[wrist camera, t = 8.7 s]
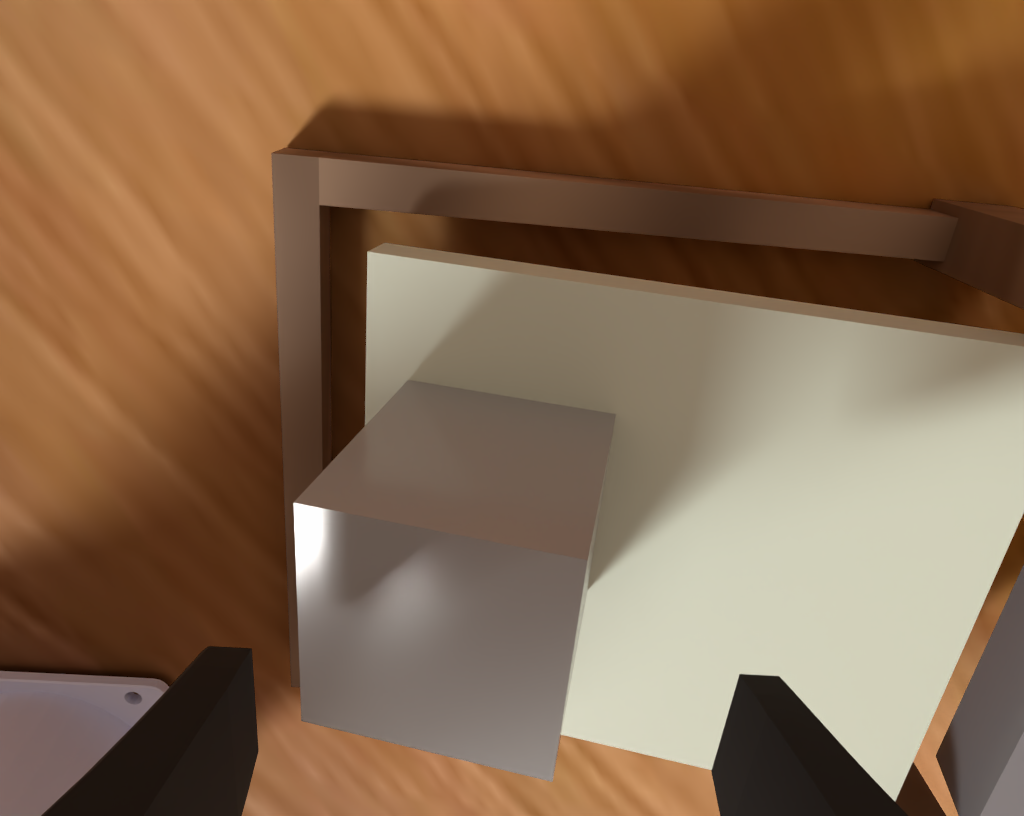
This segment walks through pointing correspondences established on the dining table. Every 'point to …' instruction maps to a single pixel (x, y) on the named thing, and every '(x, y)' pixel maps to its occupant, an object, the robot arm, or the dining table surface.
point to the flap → (757, 501)
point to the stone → (451, 574)
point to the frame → (585, 205)
